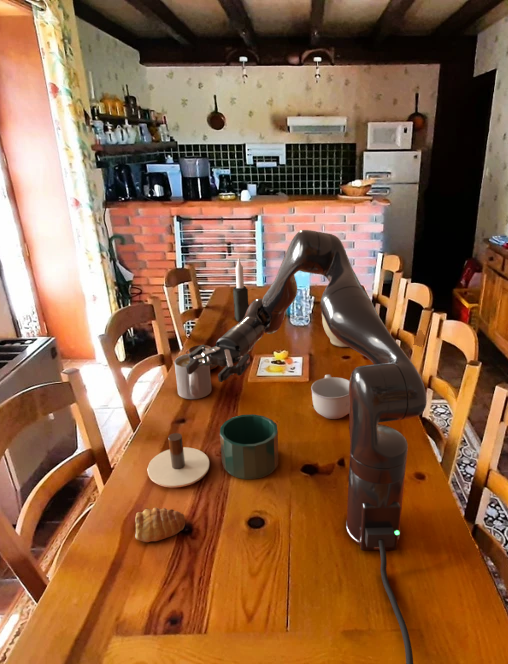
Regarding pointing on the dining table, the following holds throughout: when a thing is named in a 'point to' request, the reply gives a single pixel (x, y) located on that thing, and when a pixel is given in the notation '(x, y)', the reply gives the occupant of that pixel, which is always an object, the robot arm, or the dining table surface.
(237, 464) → the green pot
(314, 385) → the teacup
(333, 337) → the planter bowl
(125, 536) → the dining table surface
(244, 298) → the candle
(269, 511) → the dining table surface
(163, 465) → the lid
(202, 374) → the coffee mug
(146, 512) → the pastry
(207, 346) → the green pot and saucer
